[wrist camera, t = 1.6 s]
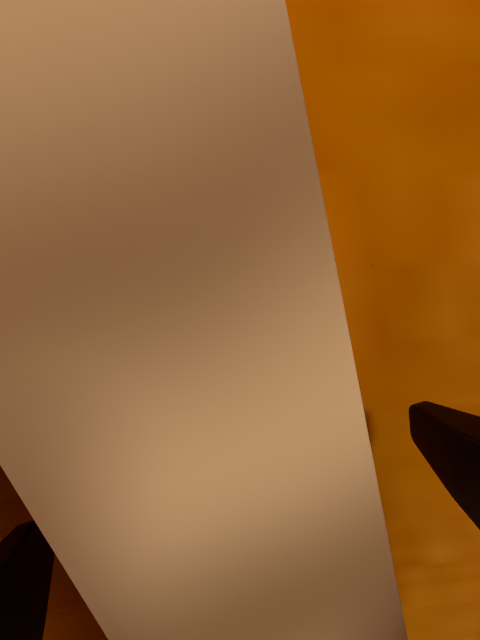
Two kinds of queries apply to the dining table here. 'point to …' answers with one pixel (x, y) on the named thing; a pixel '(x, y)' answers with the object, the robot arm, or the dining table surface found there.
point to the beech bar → (181, 328)
